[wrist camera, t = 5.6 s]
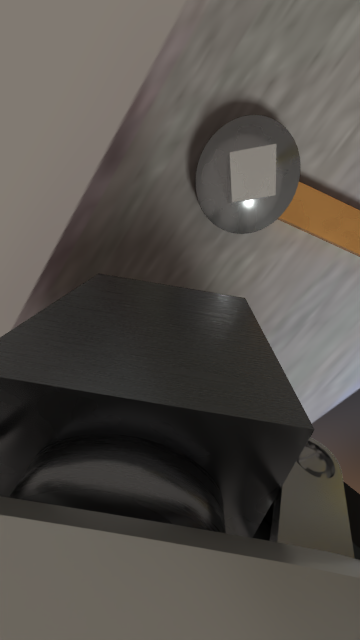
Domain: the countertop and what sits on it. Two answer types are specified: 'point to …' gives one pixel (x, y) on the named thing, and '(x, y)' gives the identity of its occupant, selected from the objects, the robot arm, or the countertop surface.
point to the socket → (148, 407)
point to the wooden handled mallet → (267, 185)
